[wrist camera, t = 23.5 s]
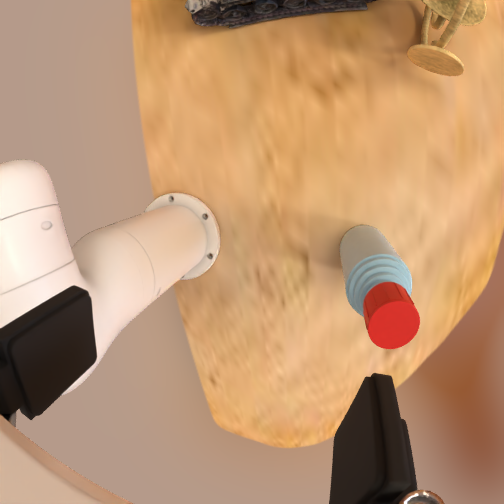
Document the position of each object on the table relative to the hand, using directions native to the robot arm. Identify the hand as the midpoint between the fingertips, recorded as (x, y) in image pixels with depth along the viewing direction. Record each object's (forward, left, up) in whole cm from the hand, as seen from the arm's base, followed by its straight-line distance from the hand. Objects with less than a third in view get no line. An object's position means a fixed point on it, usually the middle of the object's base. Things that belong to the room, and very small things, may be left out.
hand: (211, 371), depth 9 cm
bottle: (+5, -9, -32) cm, 34 cm away
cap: (+5, -9, -16) cm, 19 cm away
